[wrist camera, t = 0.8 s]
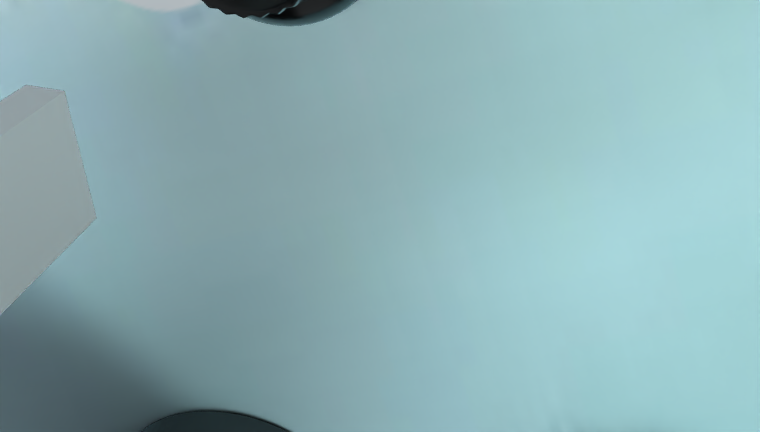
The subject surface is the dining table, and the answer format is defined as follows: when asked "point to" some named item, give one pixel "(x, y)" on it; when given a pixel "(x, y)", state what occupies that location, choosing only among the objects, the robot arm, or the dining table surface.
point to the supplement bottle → (282, 10)
